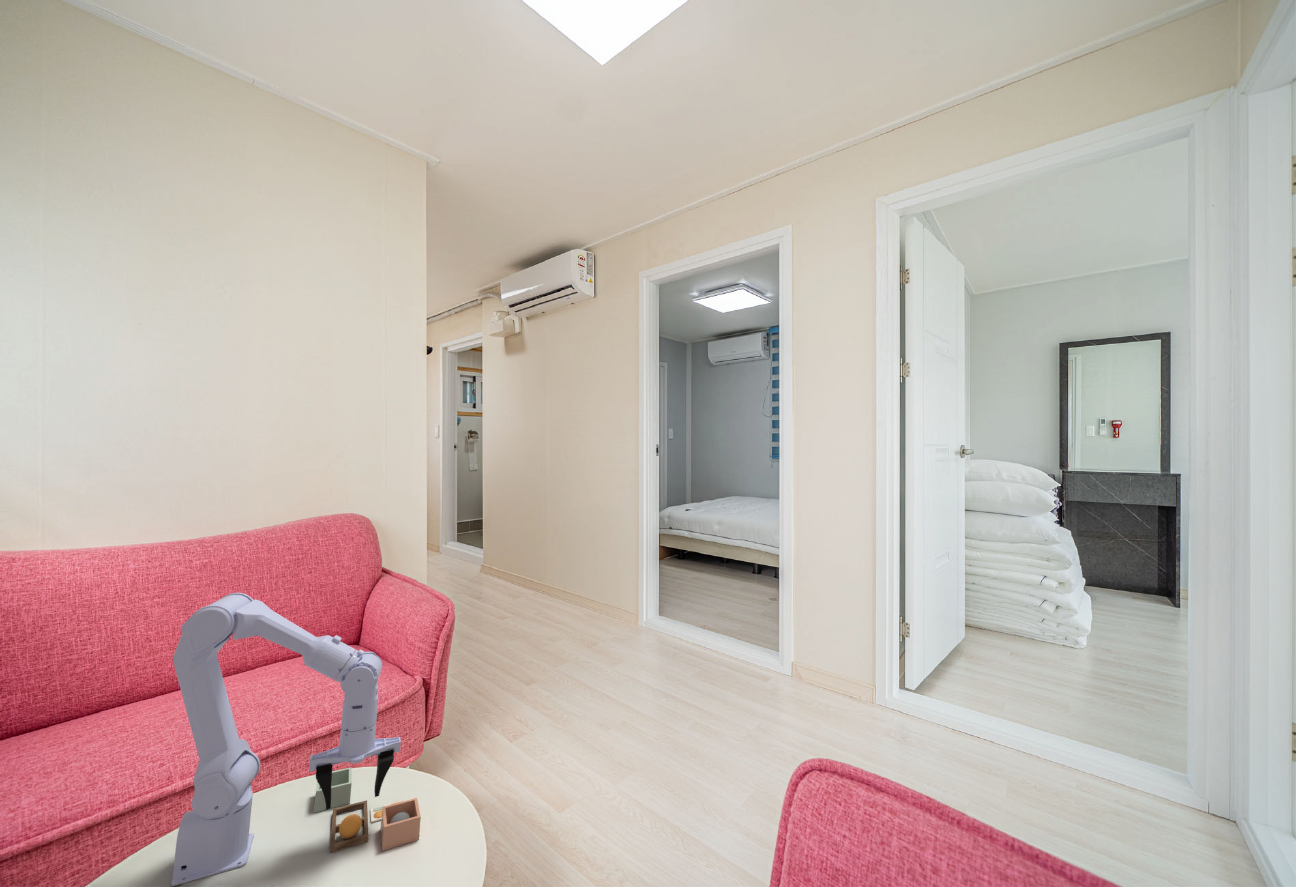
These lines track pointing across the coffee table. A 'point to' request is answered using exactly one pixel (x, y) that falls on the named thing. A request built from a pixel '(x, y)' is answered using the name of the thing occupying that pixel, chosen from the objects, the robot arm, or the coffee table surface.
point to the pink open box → (400, 824)
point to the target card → (378, 812)
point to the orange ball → (350, 826)
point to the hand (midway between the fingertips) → (353, 799)
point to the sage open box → (336, 790)
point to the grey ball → (399, 817)
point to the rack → (336, 827)
